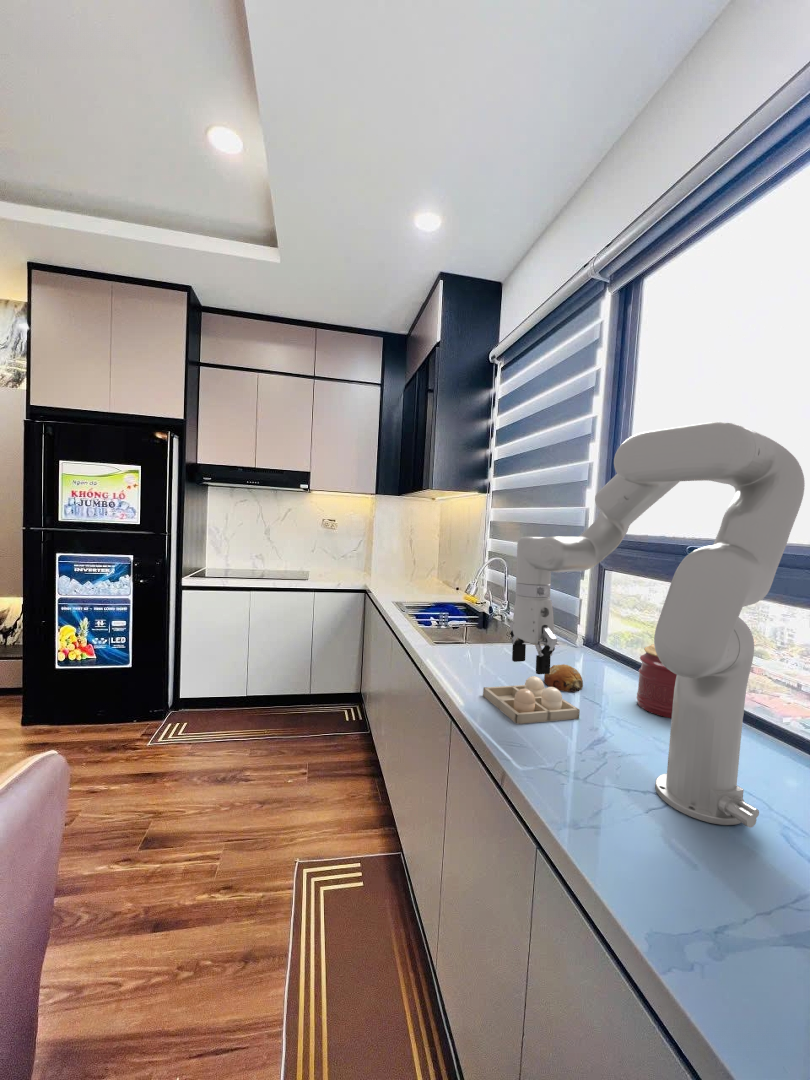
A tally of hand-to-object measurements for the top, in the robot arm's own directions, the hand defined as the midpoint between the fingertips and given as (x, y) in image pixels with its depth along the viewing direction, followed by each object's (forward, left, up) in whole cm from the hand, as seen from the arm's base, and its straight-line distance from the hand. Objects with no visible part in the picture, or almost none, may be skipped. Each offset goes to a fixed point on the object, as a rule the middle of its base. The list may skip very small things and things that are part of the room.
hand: (530, 667), depth 103 cm
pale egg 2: (+1, -7, -11) cm, 13 cm away
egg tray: (+4, -3, -12) cm, 13 cm away
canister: (-2, -38, -12) cm, 40 cm away
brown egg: (+1, 0, -11) cm, 11 cm away
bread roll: (+16, -21, -12) cm, 29 cm away
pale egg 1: (+8, -7, -11) cm, 15 cm away
